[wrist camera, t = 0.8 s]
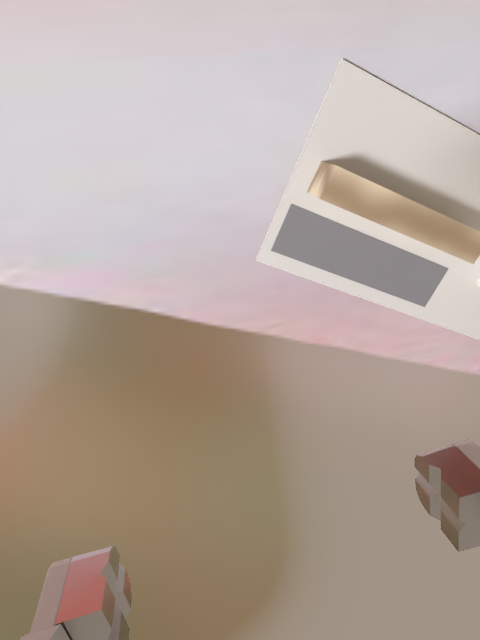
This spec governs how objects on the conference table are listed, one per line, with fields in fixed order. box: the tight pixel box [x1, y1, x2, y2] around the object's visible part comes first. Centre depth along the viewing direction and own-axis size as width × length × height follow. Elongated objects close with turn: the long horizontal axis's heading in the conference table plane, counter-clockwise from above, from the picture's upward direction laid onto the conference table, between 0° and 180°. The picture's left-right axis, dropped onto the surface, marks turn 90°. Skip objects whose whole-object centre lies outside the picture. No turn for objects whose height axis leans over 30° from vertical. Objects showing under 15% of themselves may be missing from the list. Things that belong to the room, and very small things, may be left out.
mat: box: [256, 59, 480, 340], centre depth 43 cm, size 19×38×1 cm, turn 68°
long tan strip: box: [307, 162, 480, 264], centre depth 39 cm, size 3×18×4 cm, turn 68°
